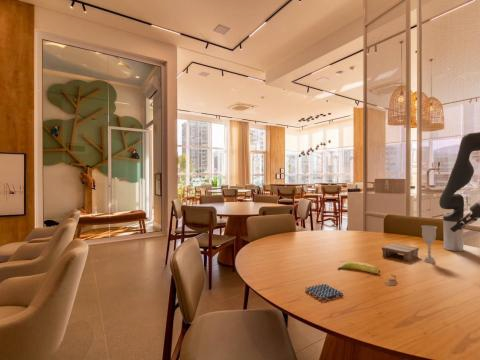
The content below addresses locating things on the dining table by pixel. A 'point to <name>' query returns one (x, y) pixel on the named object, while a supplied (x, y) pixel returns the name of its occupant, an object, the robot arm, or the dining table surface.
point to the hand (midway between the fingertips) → (454, 229)
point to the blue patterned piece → (324, 292)
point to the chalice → (429, 240)
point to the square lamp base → (401, 251)
